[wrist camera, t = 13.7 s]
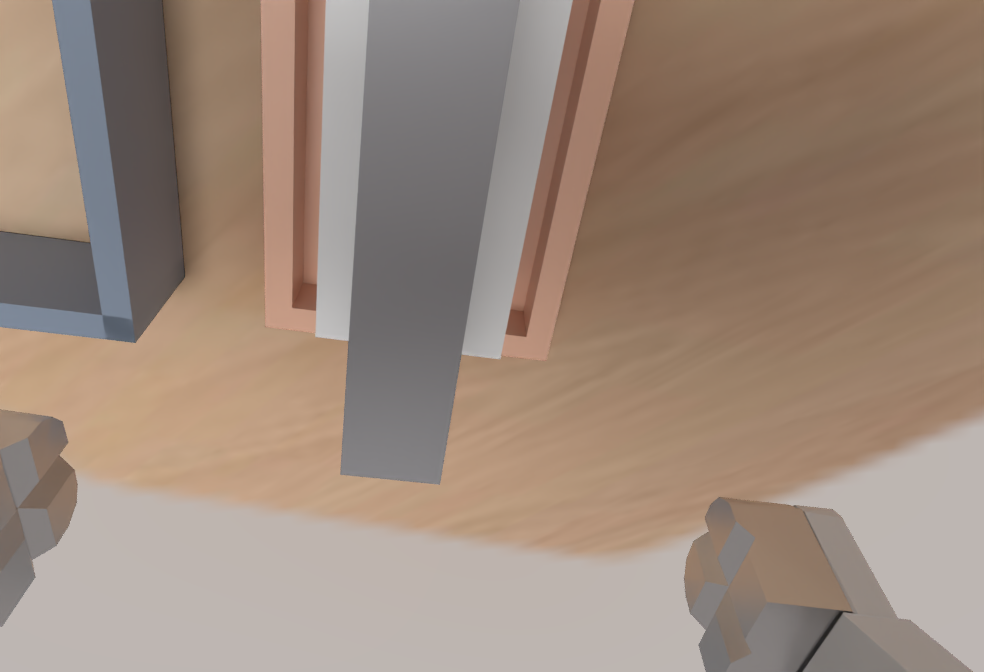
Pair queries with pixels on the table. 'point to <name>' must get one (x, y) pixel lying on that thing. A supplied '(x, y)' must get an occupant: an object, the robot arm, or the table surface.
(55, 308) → the slate bay
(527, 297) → the terracotta tray
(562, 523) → the table surface
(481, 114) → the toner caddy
